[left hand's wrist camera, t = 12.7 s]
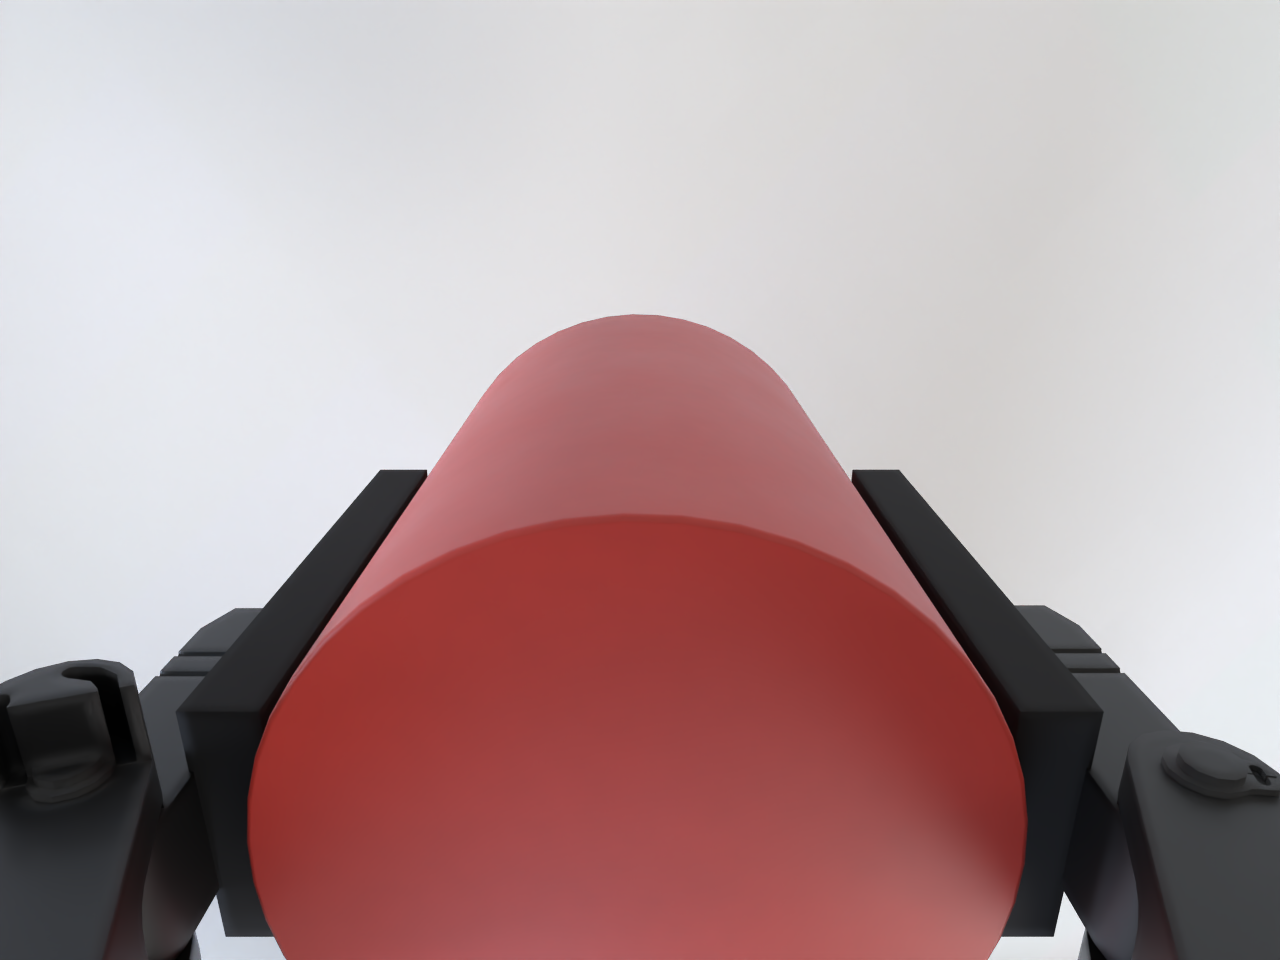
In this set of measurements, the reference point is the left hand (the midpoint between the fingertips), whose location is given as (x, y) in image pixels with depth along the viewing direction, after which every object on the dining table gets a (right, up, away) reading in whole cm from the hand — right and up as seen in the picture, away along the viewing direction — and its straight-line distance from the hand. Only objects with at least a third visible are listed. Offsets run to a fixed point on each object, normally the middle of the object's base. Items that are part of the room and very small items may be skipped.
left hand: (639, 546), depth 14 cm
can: (0, +1, +2) cm, 2 cm away
